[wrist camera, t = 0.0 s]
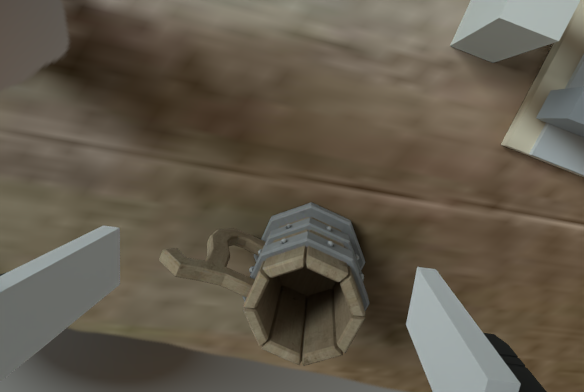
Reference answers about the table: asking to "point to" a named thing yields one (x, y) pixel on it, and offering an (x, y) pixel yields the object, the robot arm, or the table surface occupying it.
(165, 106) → the table surface
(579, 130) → the mounted modules
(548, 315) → the table surface
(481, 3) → the block
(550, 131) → the mounting board
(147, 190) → the table surface
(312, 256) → the tankard
